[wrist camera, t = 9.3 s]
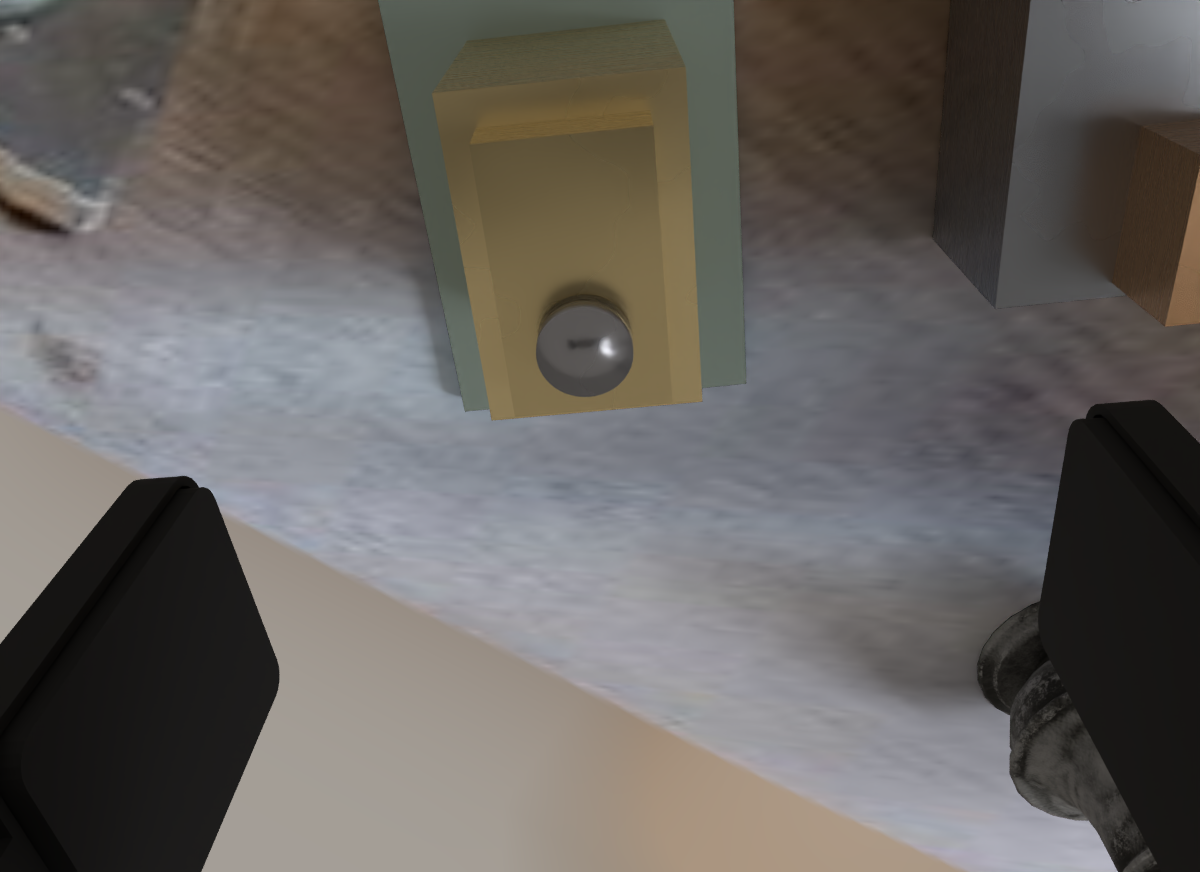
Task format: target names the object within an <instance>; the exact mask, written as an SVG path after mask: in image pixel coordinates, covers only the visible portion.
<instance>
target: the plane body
mask: <svg viewBox="0 0 1200 872" xmlns="http://www.w3.org/2000/svg"><path fill="white" fill-rule="evenodd" d="M933 240H934V241H935V242H936V243H937V244H938V245H939V246H940V248H941V249H942V250H943V251H944V252H945V253H946V254H947V255H948V257H949V258H950V259H951V260H952V261H953V262H954V263H955V264H956V266H957V267H958V268H959V269H960V270H961V271H962V272H963V273H964V275H965V276H966V277H967V278H968V279H969V280H970V281H971V282H972V284H973V285H974V286H975V287H976V288H977V289H978V290H979V291H980V293H981V294H982V295H983V296H984V297H985V298H986V299H987V300H988V302H989V303H990V304H991V305H992V306H993V307H994V308H995V309H1000V308H1010V307H1020V306H1030V305H1039V304H1049V303H1059V302H1069V301H1079V300H1088V299H1098V298H1108V297H1118V296H1128V297H1130V298H1131V299H1132V300H1133V301H1134V302H1136V303H1137V304H1138V305H1139V306H1140V307H1142V308H1143V309H1144V310H1145V311H1147V312H1148V313H1149V314H1150V315H1151V316H1153V317H1154V318H1155V319H1156V320H1158V321H1159V322H1160V323H1161V324H1162V325H1164V326H1165V327H1167V326H1177V325H1187V324H1197V323H1200V0H951V6H950V20H949V33H948V46H947V59H946V72H945V86H944V99H943V112H942V125H941V139H940V152H939V165H938V178H937V192H936V205H935V218H934V231H933Z"/></svg>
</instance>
